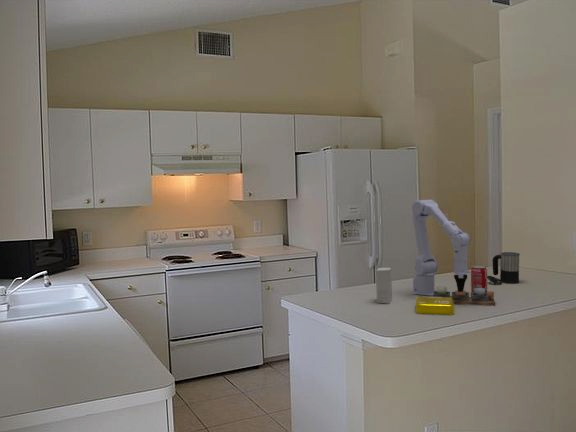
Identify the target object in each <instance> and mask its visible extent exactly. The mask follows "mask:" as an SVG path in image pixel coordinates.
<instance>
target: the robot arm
mask: <svg viewBox="0 0 576 432" xmlns="http://www.w3.org/2000/svg"><path fill="white" fill-rule="evenodd" d="M411 208H412V209H411V210H412V222H413V227H414V232H415V233H414V235H415V240H416V245H417V252H418V256H417V257H415V259H414V262H415V264H414V270H415V273H416V274H414V276H413V279H412V295H420V296H421V295H422V296H428V295H433V294H434V291H435V275H436V273H437V272H438V270H439V264H438V262H437V260H436V256H434V255H433V254H432V253H431V247H430V242H429V235H428V229H427V224H426V220H427V218H428V217H430V216H432V218H433V219H435V220H436V222H438V223H439V224H440V225H441V226H442V228H441V229H442V231H443V232H444V233H445V235H446V236H447V237H448V238H449V239H450V243H451V245H452V250H453V271H452V272H453V279H454V280H455V283H456V289H457V290H458V292H463V291H465V285H466V281H467V279H468V274H471V270H468V252H469V251H468V249H469V248H468V246H469V245H470V243H471V236H470V235H469V233H468V232H464V231H463V230H461V229H460V227H459V226H458V225H456V222H455V221H452V220H449V219H448V218H447V217H446V216H445V214H444V213H443V212H442V211H441V209H440V208H439V204H438V203H437V202H436V201H435V200H434V199H431V198H430V199H416V200H415V201H414V202H413V204H412V205H411Z"/></svg>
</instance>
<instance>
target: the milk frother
mask: <svg viewBox="0 0 576 432" xmlns="http://www.w3.org/2000/svg"><path fill="white" fill-rule="evenodd" d="M520 255H521V253H520V252H519V253H518V252H513V251H504V252H502V251H501V252H500V254H497V255H495V256H493V258H492V274H493V275H494V276H492V275H487V281H489V282H491V283H493V284H494V285H502V283H504V284H519V283H520V278H519V277H520ZM499 259H500V269H499ZM499 270H500V271H499ZM499 272H500V276H499V277H500V279H499V278H497V277H496V276H498V275H499Z"/></svg>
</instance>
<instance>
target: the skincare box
mask: <svg viewBox="0 0 576 432" xmlns="http://www.w3.org/2000/svg"><path fill="white" fill-rule="evenodd" d="M375 278H376V281H375V282H376V303H378V304H387V305H389V304H391V301H392V300H393V289H392V288H393V285H392V282H393V281H392V268H391V267H378V268H377V269H376V270H375Z"/></svg>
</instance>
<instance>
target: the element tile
mask: <svg viewBox="0 0 576 432" xmlns="http://www.w3.org/2000/svg"><path fill="white" fill-rule="evenodd" d="M415 313H416V314H420V315H436V314H437V315H441V316H452V315H455V304H454V302H453V299H452V298H451V297H428V296H421V295H420V296H417V297H416V298H415Z"/></svg>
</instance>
